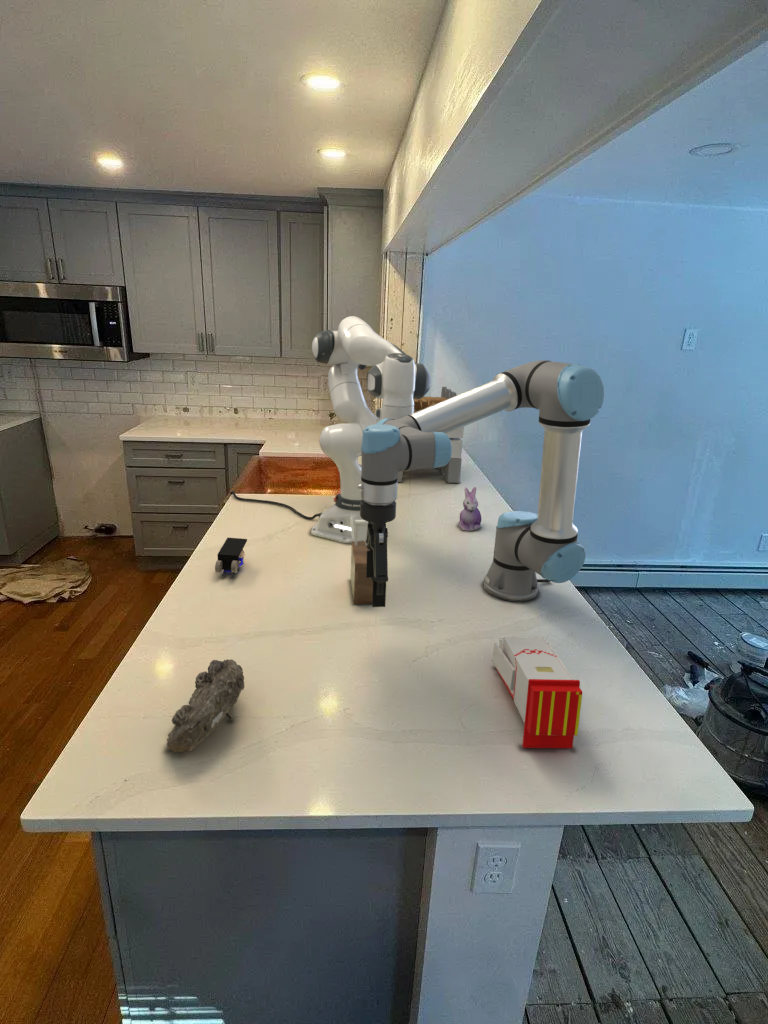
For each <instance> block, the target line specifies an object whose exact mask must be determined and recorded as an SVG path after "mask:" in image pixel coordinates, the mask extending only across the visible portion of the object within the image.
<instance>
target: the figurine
mask: <svg viewBox="0 0 768 1024" xmlns="http://www.w3.org/2000/svg"><path fill="white" fill-rule="evenodd" d="M476 494H477V487H476V486H474V487H473V488H472V489H471V491H470V490H469V488H467V487H464V499H463V501H462V506H463V509H462V510H461V511H460V513H459V521H458V527H459V528H460V529H461V530H463V531H469V532H472V531H476V530H478V529H479V528H481V523H482V514H481V512H480V510H479V508H478V507H479V501H478V498H477V497H476Z"/></svg>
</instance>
